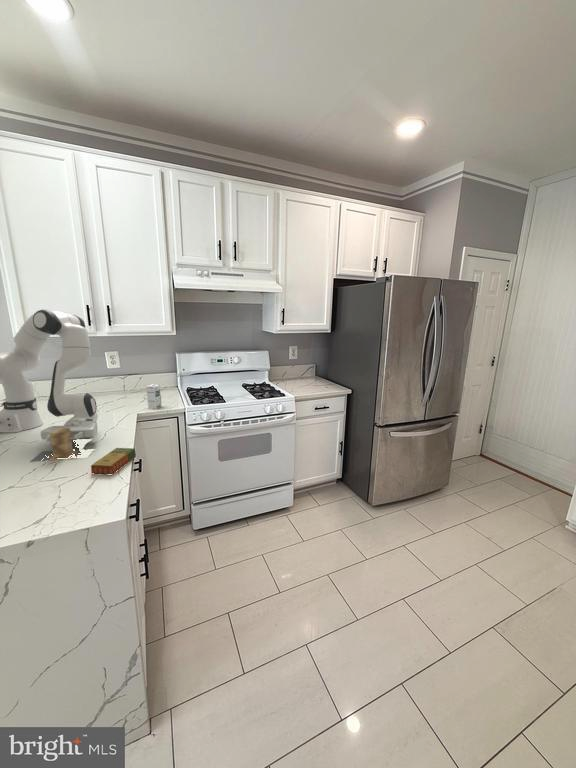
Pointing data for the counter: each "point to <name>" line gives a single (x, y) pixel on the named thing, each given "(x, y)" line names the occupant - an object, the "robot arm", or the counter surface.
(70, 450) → the oak block
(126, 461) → the carton
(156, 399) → the syrup box
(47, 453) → the t mat
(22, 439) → the counter surface
